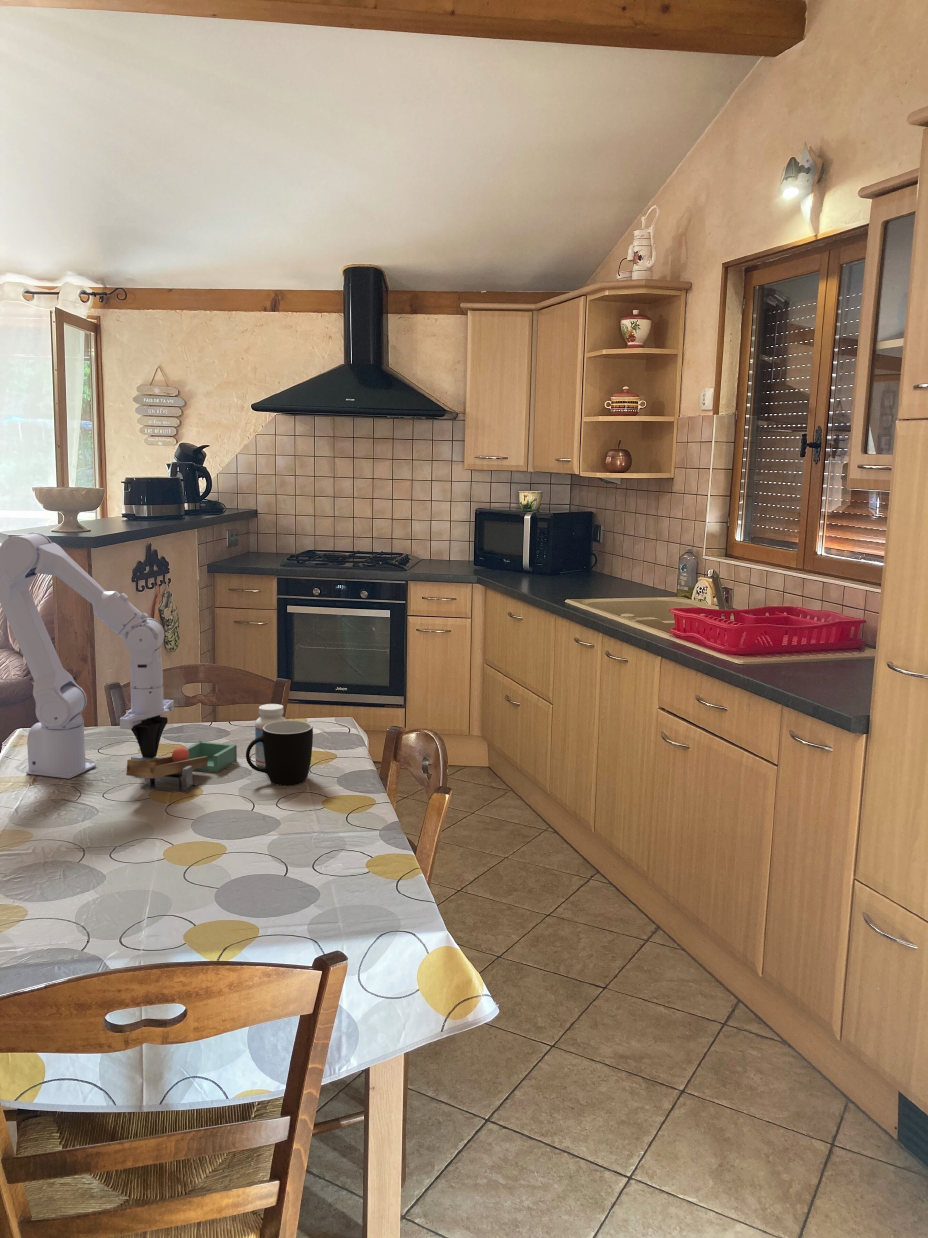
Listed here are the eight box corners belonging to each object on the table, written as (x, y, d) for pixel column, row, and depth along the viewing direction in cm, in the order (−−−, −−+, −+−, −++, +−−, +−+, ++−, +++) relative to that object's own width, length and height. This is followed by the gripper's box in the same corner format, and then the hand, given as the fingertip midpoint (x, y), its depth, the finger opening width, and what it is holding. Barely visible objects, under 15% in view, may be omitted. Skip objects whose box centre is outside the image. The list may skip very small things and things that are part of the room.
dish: (179, 768, 177) (178, 752, 177) (199, 757, 184) (199, 741, 184) (217, 772, 175) (217, 756, 175) (236, 761, 182) (236, 745, 182)
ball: (166, 757, 168) (173, 743, 170) (173, 766, 170) (179, 751, 172) (181, 759, 167) (188, 744, 169) (188, 767, 170) (194, 753, 172)
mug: (308, 770, 178) (308, 718, 176) (317, 786, 169) (316, 731, 168) (243, 776, 174) (242, 723, 172) (249, 792, 165) (248, 736, 164)
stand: (140, 788, 166) (139, 766, 165) (153, 781, 170) (152, 759, 169) (186, 793, 164) (185, 771, 163) (198, 786, 168) (197, 764, 167)
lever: (82, 773, 160) (83, 755, 160) (142, 762, 178) (144, 745, 178) (155, 782, 157) (156, 763, 157) (209, 769, 174) (210, 752, 174)
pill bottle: (270, 770, 177) (269, 712, 175) (248, 763, 181) (248, 707, 179) (294, 762, 182) (293, 706, 180) (273, 756, 186) (272, 701, 184)
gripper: (143, 696, 165) (146, 770, 167) (187, 679, 179) (189, 747, 181) (108, 693, 167) (111, 767, 169) (154, 676, 181) (156, 744, 183)
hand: (149, 757), depth 175 cm, fingers closed
